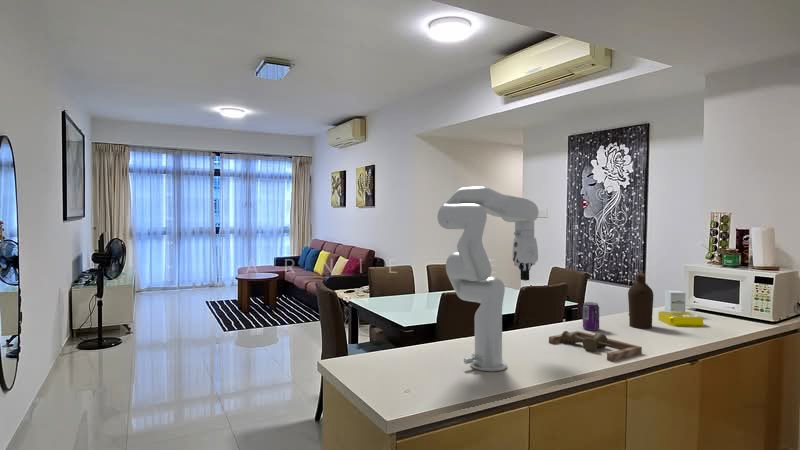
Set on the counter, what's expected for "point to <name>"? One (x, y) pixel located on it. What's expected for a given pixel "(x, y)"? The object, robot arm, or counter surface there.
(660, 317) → the element tile
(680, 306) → the supplement box
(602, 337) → the kendama
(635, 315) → the olive oil
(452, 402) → the counter surface
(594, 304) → the beverage can
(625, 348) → the walnut bay
